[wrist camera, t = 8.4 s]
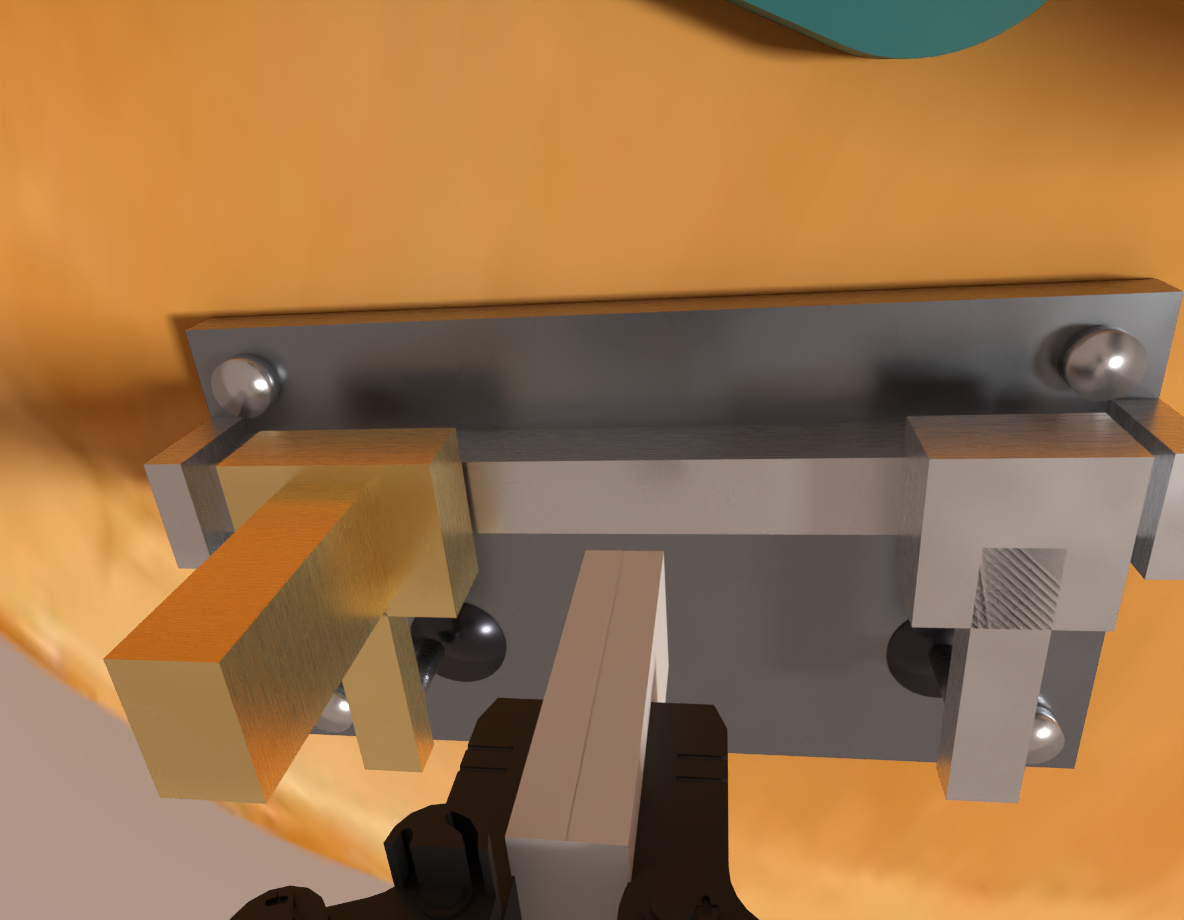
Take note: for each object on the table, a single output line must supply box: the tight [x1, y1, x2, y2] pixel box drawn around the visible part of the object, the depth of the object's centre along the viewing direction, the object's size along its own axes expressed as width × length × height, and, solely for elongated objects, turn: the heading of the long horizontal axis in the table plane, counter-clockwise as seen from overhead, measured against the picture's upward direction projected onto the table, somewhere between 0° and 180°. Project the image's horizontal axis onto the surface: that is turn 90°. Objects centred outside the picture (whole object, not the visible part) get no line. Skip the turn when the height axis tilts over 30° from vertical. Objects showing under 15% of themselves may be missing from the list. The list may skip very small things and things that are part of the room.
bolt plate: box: [185, 279, 1183, 769], centre depth 23 cm, size 14×24×2 cm, turn 94°
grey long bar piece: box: [143, 398, 1184, 803], centre depth 21 cm, size 9×24×4 cm, turn 94°
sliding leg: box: [103, 428, 479, 804], centre depth 19 cm, size 9×5×10 cm, turn 4°
